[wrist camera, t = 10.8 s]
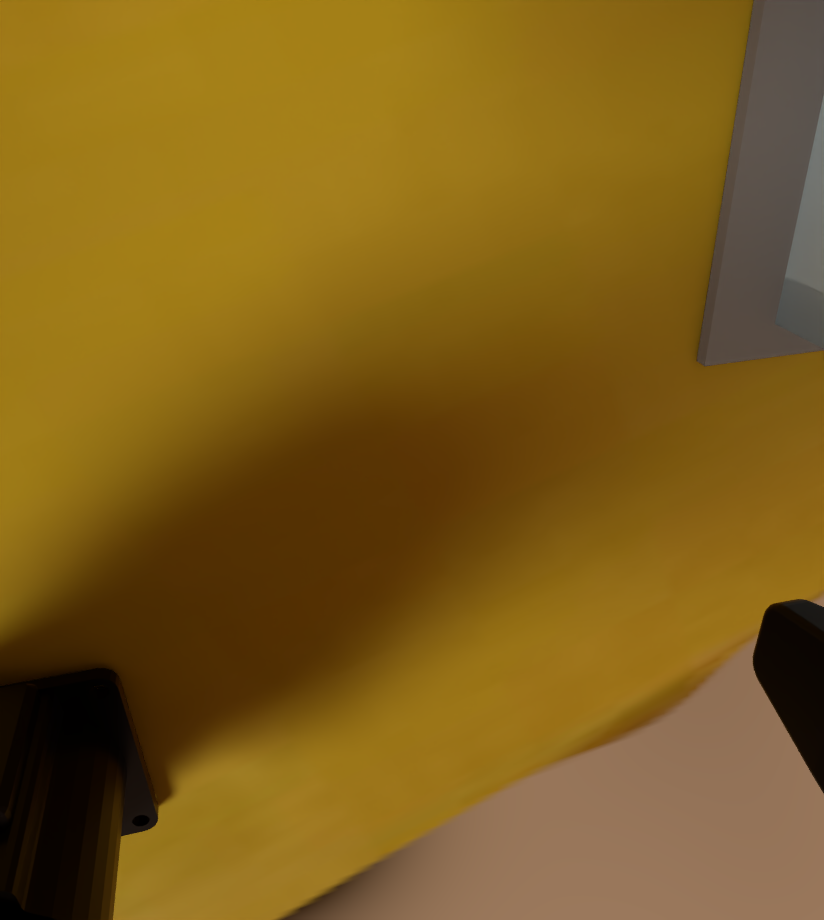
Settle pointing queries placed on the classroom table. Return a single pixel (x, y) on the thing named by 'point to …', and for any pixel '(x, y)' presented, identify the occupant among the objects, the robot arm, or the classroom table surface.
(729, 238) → the mat
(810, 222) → the c link
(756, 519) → the classroom table surface
